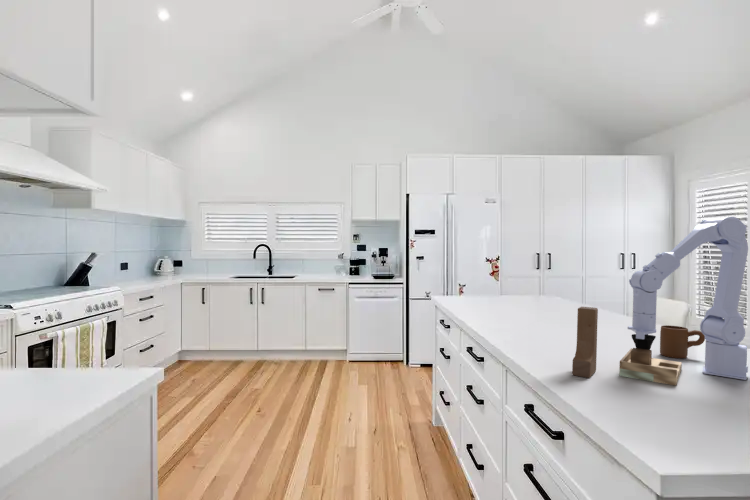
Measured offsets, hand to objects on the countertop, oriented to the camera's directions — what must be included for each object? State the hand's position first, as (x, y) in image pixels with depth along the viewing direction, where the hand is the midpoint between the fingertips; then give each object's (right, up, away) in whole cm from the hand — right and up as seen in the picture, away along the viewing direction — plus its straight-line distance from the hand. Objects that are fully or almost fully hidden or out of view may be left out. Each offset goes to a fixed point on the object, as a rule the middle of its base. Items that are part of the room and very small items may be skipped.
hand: (642, 360), depth 128 cm
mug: (+23, -4, +18) cm, 29 cm away
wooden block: (-18, -3, -3) cm, 19 cm away
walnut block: (-2, -1, -3) cm, 4 cm away
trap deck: (+2, -3, -1) cm, 4 cm away
